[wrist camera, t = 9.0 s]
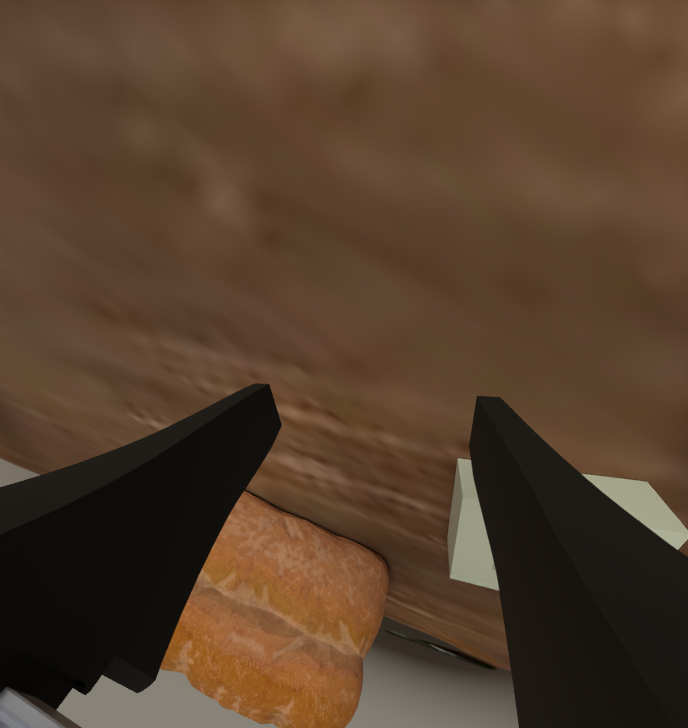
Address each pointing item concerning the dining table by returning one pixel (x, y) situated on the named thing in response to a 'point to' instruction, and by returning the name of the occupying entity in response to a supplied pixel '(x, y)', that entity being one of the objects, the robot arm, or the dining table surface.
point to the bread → (281, 619)
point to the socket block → (471, 540)
